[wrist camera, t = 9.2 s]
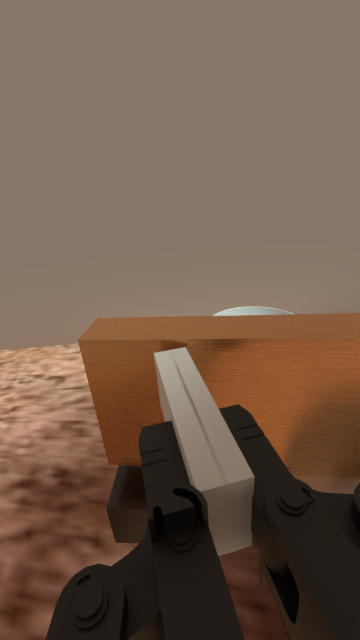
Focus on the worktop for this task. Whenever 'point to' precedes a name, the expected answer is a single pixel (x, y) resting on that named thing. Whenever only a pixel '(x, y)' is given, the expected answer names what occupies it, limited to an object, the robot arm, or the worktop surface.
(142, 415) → the lid
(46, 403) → the worktop surface
